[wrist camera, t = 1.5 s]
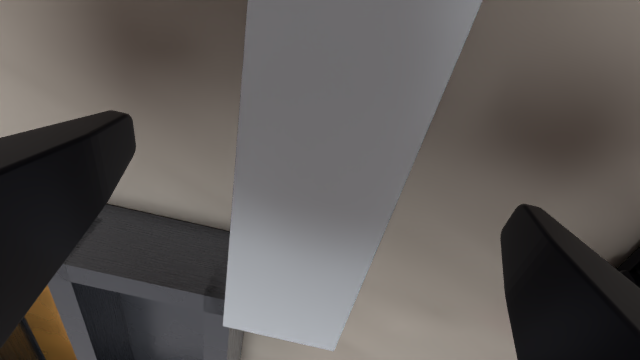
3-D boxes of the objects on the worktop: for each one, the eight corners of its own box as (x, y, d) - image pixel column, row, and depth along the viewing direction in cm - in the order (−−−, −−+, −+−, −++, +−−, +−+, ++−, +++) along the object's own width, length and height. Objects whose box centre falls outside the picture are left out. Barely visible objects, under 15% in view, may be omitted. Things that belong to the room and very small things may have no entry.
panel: (470, -131, 9) (545, -148, 5) (345, 236, 16) (333, 351, 12) (318, -169, 9) (264, -219, 5) (262, 217, 16) (222, 325, 12)
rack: (254, 237, 16) (225, 316, 13) (235, 401, 26) (216, 468, 23) (-51, 169, 16) (-150, 232, 13) (44, 359, 26) (-1, 421, 23)
